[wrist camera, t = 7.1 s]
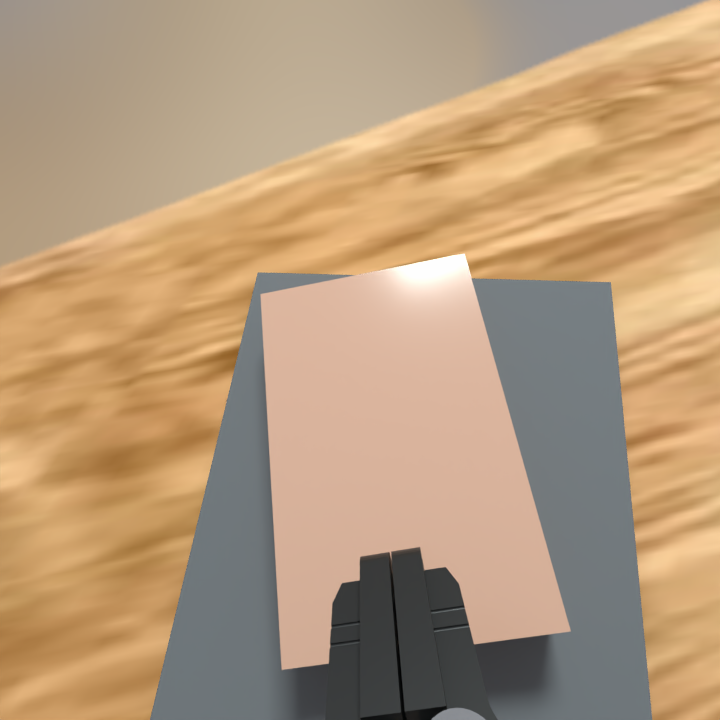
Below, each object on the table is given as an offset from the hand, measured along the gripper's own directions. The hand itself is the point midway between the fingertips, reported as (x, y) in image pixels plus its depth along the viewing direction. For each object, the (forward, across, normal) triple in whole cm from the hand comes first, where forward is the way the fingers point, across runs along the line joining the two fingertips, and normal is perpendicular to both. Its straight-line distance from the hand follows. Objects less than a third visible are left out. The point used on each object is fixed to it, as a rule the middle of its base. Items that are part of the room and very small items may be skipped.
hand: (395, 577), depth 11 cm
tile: (+2, 0, +5) cm, 6 cm away
